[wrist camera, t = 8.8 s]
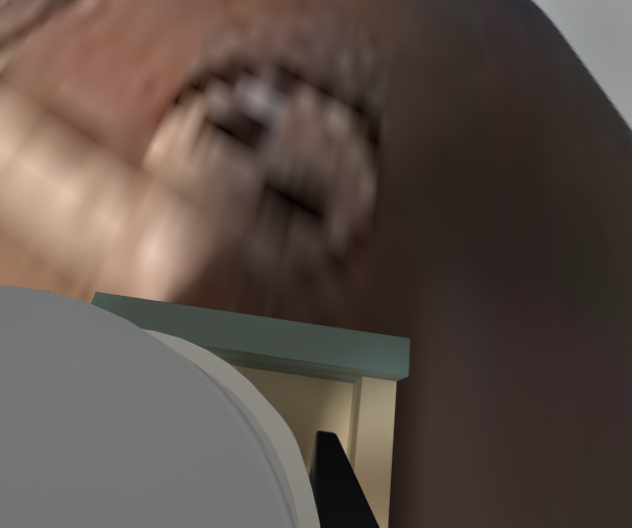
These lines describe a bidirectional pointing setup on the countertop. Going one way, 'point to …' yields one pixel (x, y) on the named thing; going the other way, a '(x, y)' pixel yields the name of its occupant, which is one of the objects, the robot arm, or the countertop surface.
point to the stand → (301, 377)
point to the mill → (134, 428)
